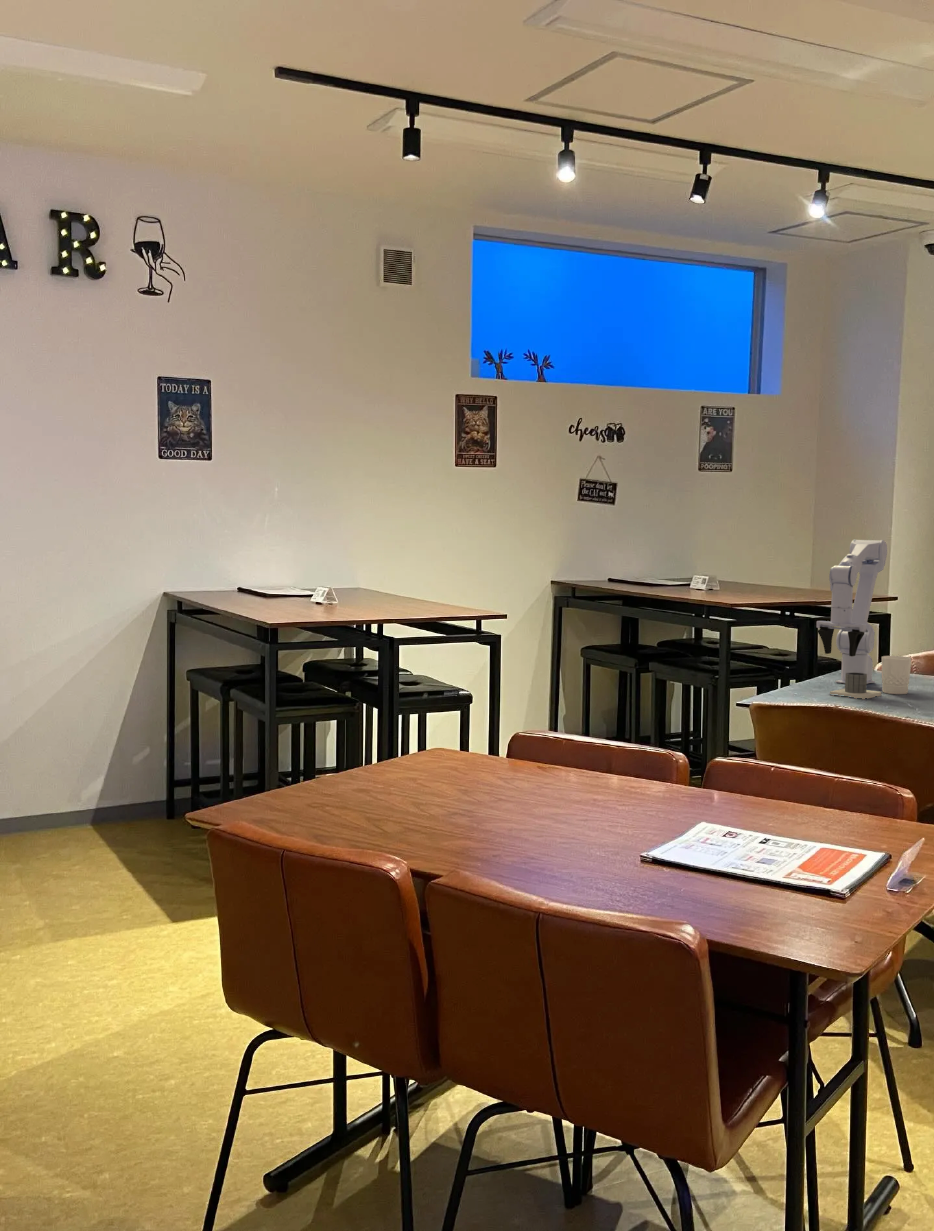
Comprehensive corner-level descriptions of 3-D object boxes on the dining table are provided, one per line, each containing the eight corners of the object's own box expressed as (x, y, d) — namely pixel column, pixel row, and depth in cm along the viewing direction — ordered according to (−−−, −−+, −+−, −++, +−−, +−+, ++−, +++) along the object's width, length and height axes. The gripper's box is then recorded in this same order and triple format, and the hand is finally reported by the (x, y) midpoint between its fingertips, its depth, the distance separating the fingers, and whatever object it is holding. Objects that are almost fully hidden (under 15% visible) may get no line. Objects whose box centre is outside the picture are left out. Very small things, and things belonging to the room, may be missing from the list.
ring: (851, 689, 336) (852, 671, 336) (869, 691, 332) (870, 674, 332) (841, 691, 332) (841, 673, 332) (859, 693, 328) (860, 675, 328)
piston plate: (848, 691, 340) (848, 675, 339) (881, 695, 332) (881, 679, 332) (829, 695, 333) (830, 678, 332) (863, 699, 325) (863, 683, 325)
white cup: (889, 689, 343) (891, 655, 342) (915, 693, 337) (916, 657, 336) (874, 692, 338) (876, 657, 337) (900, 695, 332) (901, 660, 331)
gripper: (811, 606, 344) (810, 653, 345) (858, 609, 334) (856, 658, 335) (824, 605, 349) (822, 651, 350) (870, 608, 338) (868, 656, 340)
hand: (840, 654), depth 343 cm, fingers open, 7 cm apart
